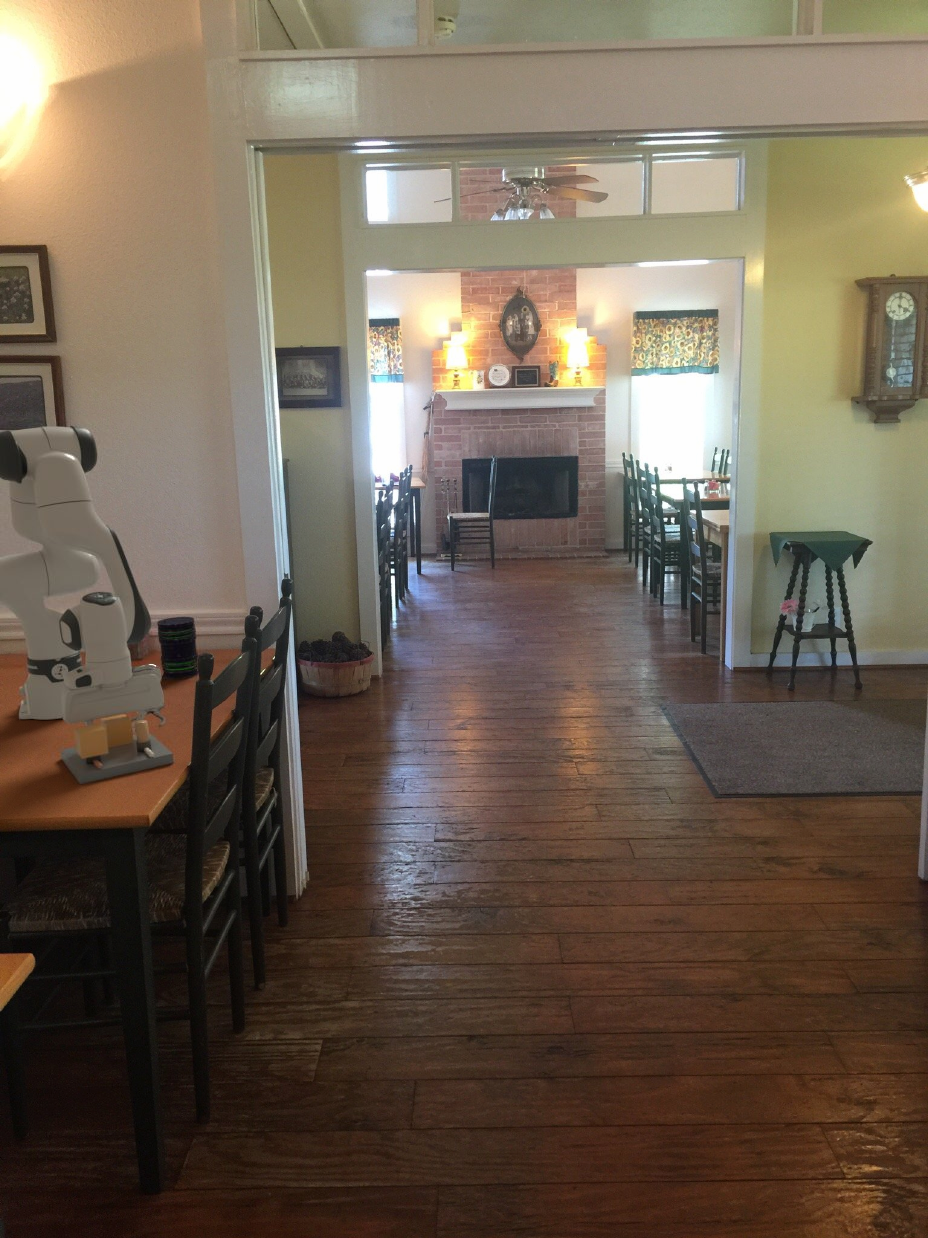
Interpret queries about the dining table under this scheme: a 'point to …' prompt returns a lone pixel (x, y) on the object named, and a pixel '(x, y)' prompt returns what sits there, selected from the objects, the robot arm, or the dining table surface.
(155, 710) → the pliers
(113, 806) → the dining table surface
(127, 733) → the tan wooden toy brick
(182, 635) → the storage jar
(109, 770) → the board
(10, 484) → the robot arm
